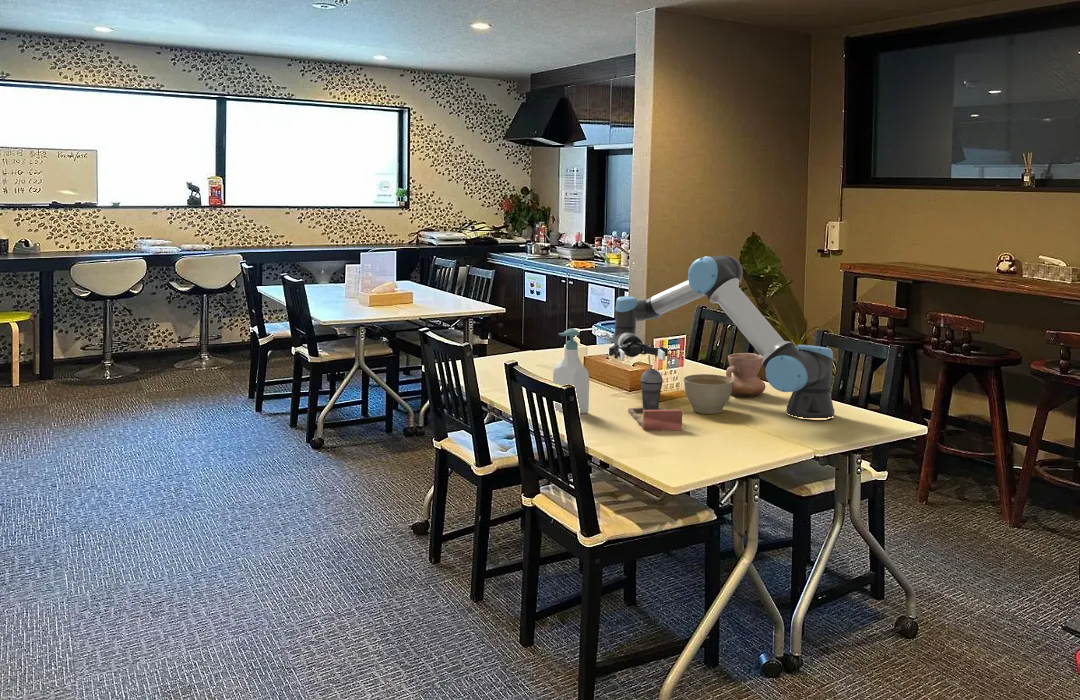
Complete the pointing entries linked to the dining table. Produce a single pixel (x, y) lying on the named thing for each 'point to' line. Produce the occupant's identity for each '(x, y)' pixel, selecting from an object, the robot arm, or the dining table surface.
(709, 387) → the planter bowl
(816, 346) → the robot arm
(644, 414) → the brown tray
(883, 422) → the dining table surface
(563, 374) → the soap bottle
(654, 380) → the beverage cup
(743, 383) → the ceramic jug
